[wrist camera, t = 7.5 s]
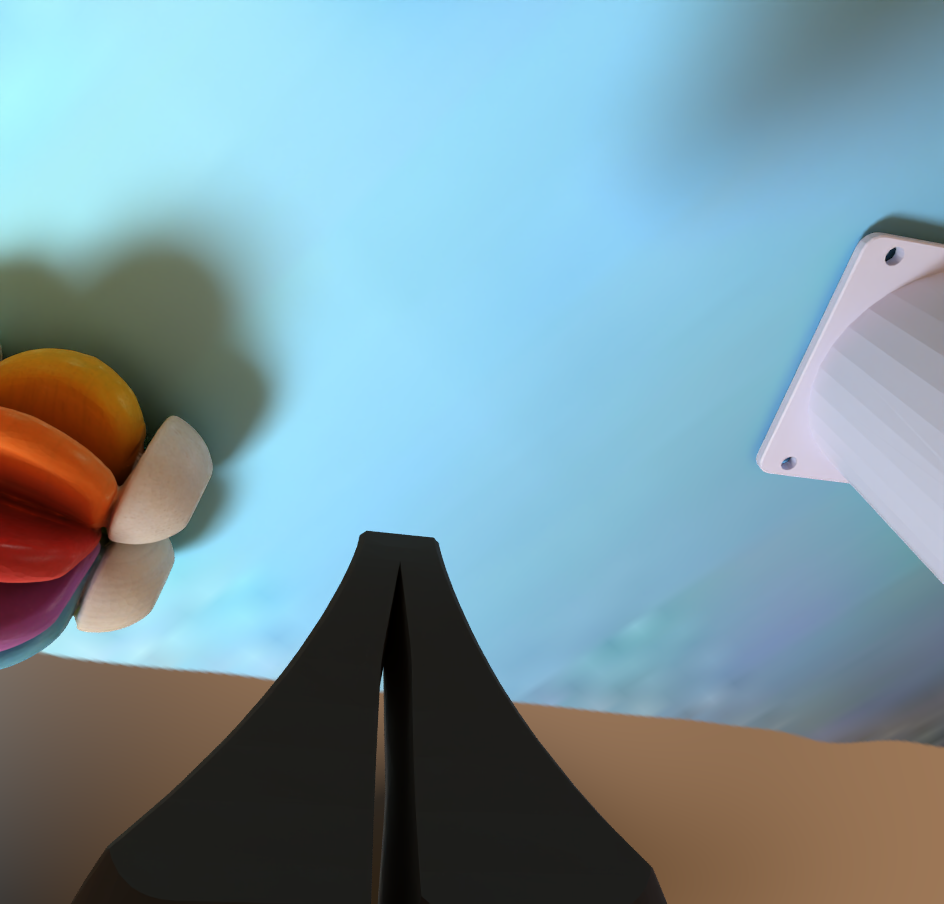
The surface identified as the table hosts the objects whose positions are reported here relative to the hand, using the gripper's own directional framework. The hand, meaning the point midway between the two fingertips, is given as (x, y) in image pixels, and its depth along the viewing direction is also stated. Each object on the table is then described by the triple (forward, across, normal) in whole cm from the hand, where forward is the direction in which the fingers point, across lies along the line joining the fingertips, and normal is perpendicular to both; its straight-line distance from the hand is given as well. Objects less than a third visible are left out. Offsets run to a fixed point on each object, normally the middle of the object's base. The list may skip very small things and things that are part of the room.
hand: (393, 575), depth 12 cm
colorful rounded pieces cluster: (+10, +10, +5) cm, 15 cm away
